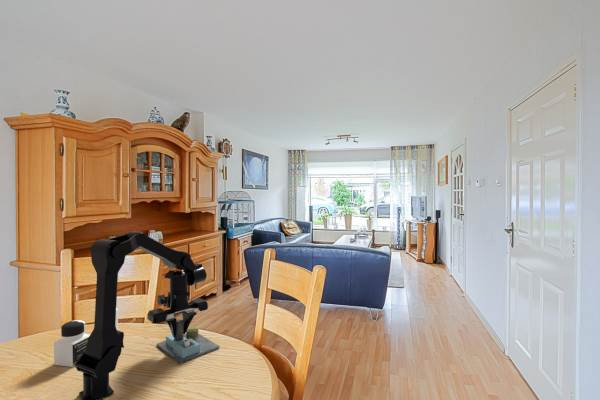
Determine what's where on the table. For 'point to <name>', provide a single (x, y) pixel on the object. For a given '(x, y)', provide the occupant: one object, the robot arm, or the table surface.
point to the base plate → (192, 334)
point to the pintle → (187, 342)
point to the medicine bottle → (70, 343)
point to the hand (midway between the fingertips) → (179, 335)
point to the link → (182, 342)
